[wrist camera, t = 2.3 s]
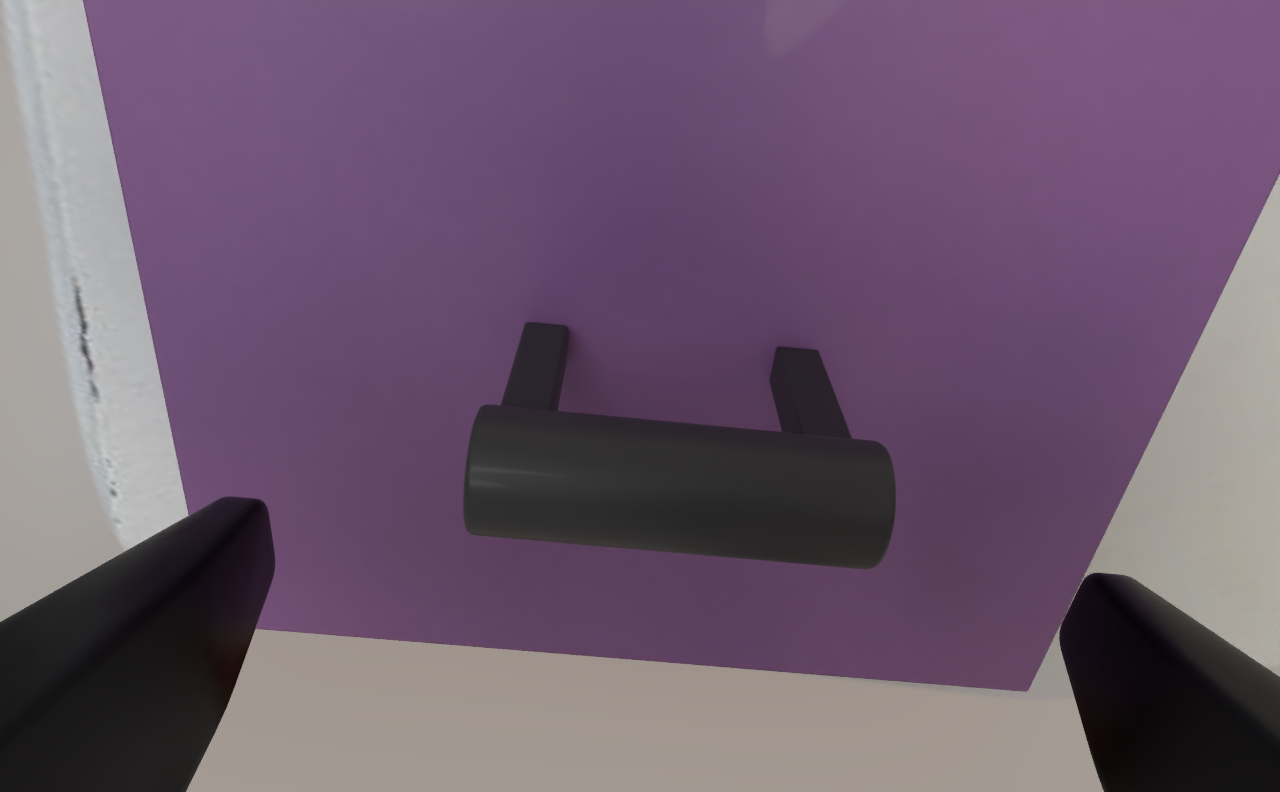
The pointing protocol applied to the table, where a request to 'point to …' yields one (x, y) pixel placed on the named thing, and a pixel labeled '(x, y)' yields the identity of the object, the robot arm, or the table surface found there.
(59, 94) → the table surface
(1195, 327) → the lid
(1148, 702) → the robot arm
